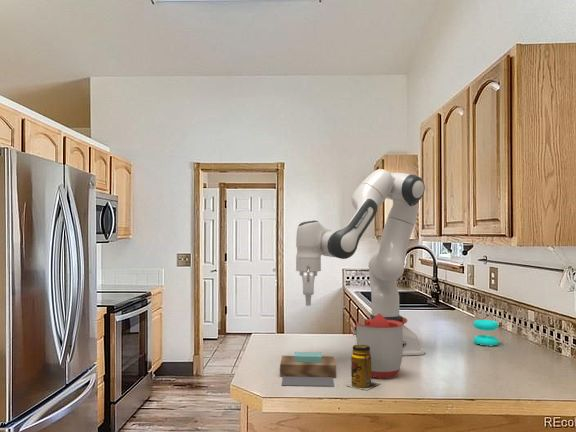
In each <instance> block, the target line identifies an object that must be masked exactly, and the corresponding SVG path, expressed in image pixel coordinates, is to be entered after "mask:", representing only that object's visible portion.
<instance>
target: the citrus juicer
mask: <svg viewBox="0 0 576 432" xmlns="http://www.w3.org/2000/svg"><path fill="white" fill-rule="evenodd" d="M352 336H355V337H356V345H367V346H369V347H370V355H371V378H379V379H382V380H386V379H389V378H394V377H397V376H398V374H399V372H400V369H401V365H402V359H403V355H402V353H403V323H402V322H399V321H394V320H386V319H385V318H384V317H383V316H382V315H381V314H380V313H379V314H377V315H376V316H375V317H374V318H373V319H370V318H367V319H364V324H361V323H360V322H358V321H355V330H354V331H353V332H352Z"/></svg>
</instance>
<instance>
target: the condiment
mask: <svg viewBox="0 0 576 432" xmlns="http://www.w3.org/2000/svg"><path fill="white" fill-rule="evenodd" d="M350 358H351V370H350V371H351V372H350V373H351V375H350V376H351V383H349V384H345V386H347V387H350V388H354V389H360V390H365V391H368V390H370V389H373V388H374V387H376V386H378V385H380V384H381V383H380V382H373V381H372V377H371V355H370V347H369V346H367V345H357V344H354V345H353V346H352V354H351V357H350Z"/></svg>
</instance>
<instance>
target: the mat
mask: <svg viewBox="0 0 576 432" xmlns="http://www.w3.org/2000/svg"><path fill="white" fill-rule="evenodd" d="M281 387H319V388H320V387H321V388H322V387H324V388H330V387H331V388H335V383H334V378H333V377H282V380H281Z"/></svg>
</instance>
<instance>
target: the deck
mask: <svg viewBox="0 0 576 432" xmlns="http://www.w3.org/2000/svg"><path fill="white" fill-rule="evenodd" d="M283 377H333V379H336V378H337V365H336V359H335V355H334V356H333V355H332V356H331V355H329V356H327V355H325V356H324V355H322V363H305V362H294V355H282V356H281V359H280V362H279V378H283Z"/></svg>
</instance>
